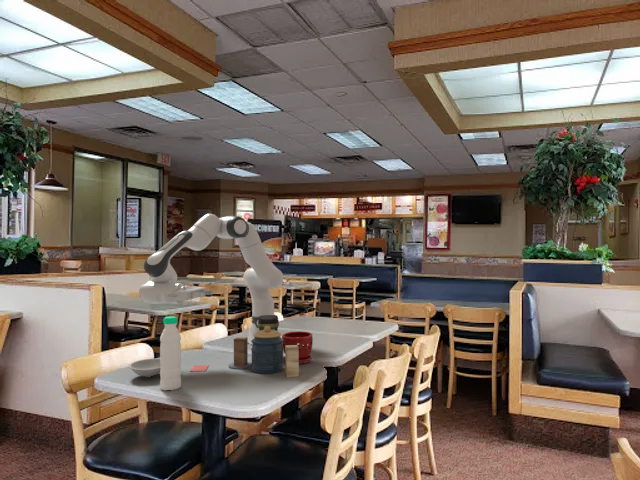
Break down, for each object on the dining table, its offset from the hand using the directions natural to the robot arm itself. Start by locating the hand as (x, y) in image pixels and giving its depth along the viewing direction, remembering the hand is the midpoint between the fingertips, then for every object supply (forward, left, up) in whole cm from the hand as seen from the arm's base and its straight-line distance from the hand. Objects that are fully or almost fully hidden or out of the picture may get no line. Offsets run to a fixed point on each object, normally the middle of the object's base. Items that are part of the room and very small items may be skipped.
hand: (208, 293), depth 202 cm
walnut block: (0, +14, -29) cm, 33 cm away
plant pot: (-10, +36, -30) cm, 48 cm away
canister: (+4, +27, -30) cm, 40 cm away
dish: (+20, -16, -30) cm, 40 cm away
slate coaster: (0, +14, -30) cm, 33 cm away
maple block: (+11, +38, -30) cm, 50 cm away
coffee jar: (-19, +21, -30) cm, 41 cm away
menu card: (+6, -1, -30) cm, 31 cm away
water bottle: (+33, -1, -30) cm, 45 cm away
